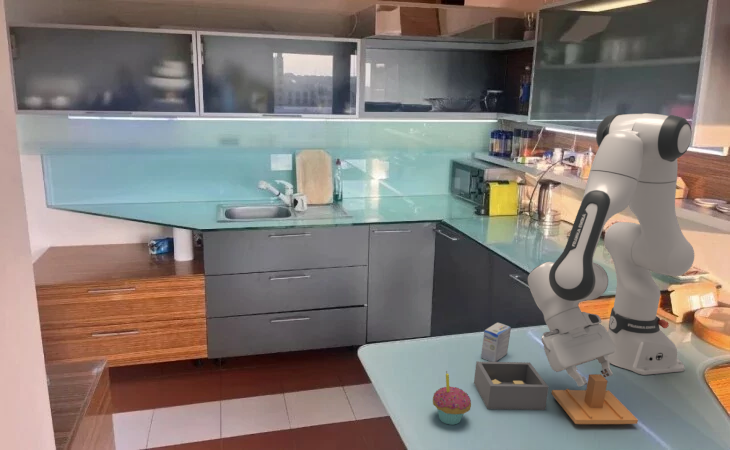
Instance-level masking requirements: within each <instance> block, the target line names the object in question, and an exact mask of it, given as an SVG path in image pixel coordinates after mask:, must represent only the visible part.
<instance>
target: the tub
mask: <svg viewBox="0 0 730 450" xmlns="http://www.w3.org/2000/svg"><path fill="white" fill-rule="evenodd" d="M473 379H474V380H473V384H474V386H475V388H476V390H477V392H478V393H479V396H480V398H481V399H482V402H483V403H484V405H485V406H486V409H487V410H524V411H525V410H529V411H530V410H531V411H532V410H534V411H535V410H536V411H539V410H540V411H541V410H543V411H545V410H546V406H547V401H548V395H549V394H548V393H549V385H548V384H547V383H546V382H545V380H544V378H543V377H542V376H541V374H539V372H538V371H537V369H536V368H535V367H534V365H533V364H532V363H531V362H528V361H527V362H525V361H524V362H522V361H521V362H518V361H514V362H513V361H512V362H511V361H497V362H490V361H476V363H475V369H474V378H473Z"/></svg>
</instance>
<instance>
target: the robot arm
mask: <svg viewBox="0 0 730 450" xmlns="http://www.w3.org/2000/svg"><path fill="white" fill-rule="evenodd" d="M692 134H693V133H692V127H691V124H690V122H688V120H687V119H686V118H684V117H681V116H678V115H672V114H671V115H665V114H661V113H660V114H657V113H650V112H649V113H647V112H646V113H645V112H644V113H627V114H622V113H614V114H610V115H607V116H606V117H604V118H603V119H602V120H601V121H600V122H599V125H598V127H597V128H596V133H595V135H596V136H595V138H596V144H597V146H598V148H597V150H596V152H595V153H596V154H595V155H594V159H593V161H592V164H591V167H590V170H589V174H588V178H587V180H586V185H585V189H584V194H583V196H582V200H581V203H580V206H579V209H578V211H577V214H576V216H575V219H574V221H573V224H572V228H571V230H570V233H569V236H568V239H567V242H566V244H565V247H564V249H563V252H562V253H561V254H560V256H559V257H558V258H557V259H556V260H555V261H554V262H553V261H546V262H542V263H541V264H538V265H537V266H536V267H534V268H533V269H532V270H531V271H530V272H529V274H528V276H527V284H528V287H529V290H530V292H531V296H532V298H533V300H534V302H535V304H536V306H537V307H538V308H539V310H540V311H541V312H542V315H543V319H544V322H545V324H546V326H547V328H548V331H545V332H543V333H542V336H541V343H542V345H543V349H544V353H545V356H546V359H547V361H548V364H549V366H550V368H551V369H552V370H553V371H554V372H556V373H558V372H562V371H566V373H567V375H568V376H569V377H571V379H573V380H574V381H575V383H576V385H577V386H578V387H583V386H585V385H587V383H588V380H587V378H586V377H585V375H581V374H580V373H579V372H578V367H577V366H581V365H583V364H586V363H590V362H592V361H596V360H597V361H598V363H599V364H601V369H602V370H600V373H601V375H602V376H603V377H604V378H608V377H610V376H613V371H612V369H611V366H610V364H612V365H614V366H616V367H619V368H621V369H625V370H629V371H631V372H634V373H636V374H639V375H642V376H646V375H647V376H648V375H657V374H666V373H668V374H669V373H677V372H678V373H679V372H684V371H685V365H684V363H683V361H681V360H680V359H679V358H678V349H677V348H678V347H677V346H676V344H675V343H674V342H673V341H672V339H670V338H669V337H668V336H667V335H666V334H665V332H664V331H662V330H661V328H660V327H662V328H663V329H668V327H669V325H670V323H669V321H666V320H665V319H661V318H660V317H659V316H657V314H658V313H657V312H658V308H659V303H660V298H661V290H660V288H659V286H658V284H657V282H656V281H655V280H654V278H653V276H652V272H654V273H656V274H659V275H663V276H671V277H680V276H682V275H684V274H685V273H687V272H688V271H689V270H690V269H691V267H692V266H693V264H694V261H695V250H694V247H693V245H692V244H691V243H690V242H689V241H688V240H687V238H686V237H685V236H684V234H683V231H682V229H681V227H680V224H679V221H678V217H677V213H676V193H677V192H676V191H677V182H678V167H679V165H678V159H680V158H681V157H682V156H683V155H684V154H686V153H687V151H688V149H689V147H690V145H691V141H692ZM628 207H629V209H630V212H632V213H633V214H634V216H635V217H636V219H637V221H638V223H636V222H629V221H618V222H615V223H613V224H611V225H610V227H609V228H608V229H607V230H606V232H605V234H604V238H603V239H604V240H603V241H604V242H603V244H604V247H605V249H606V251H607V252H608V254H609V255H610V257H611V259H612V262H613V266H614V270H615V276H616V288H615V289H616V290H615V295H614V303H613V307H612V308H611V310H610V315H609V321H608V330H607V329H606V327H605V326H604V325H603V324H601V323H602V319H601V317H600V316H599V315H598V314H595V313H589V312H585V311H582V310H581V308H580V307H579V304H580V303H583V302H586V301H592V300H596V299H597V298H599V297H600V296H602V295H603V294H604V293H605V292H606V291H607V288H608V286H609V276H608V273H607V271H606V270H605V268H604V267H603V266H601V265H600V264H598V263H597V262H594V255H595V253H596V250H597V248H598V247H597V246H598V244H599V241H600V238H601V235H602V232H603V229H604V227H605V225H606V223H607V222H608V221H609V220H610V219H611V218H613V217H614V216H615V215H617V214H619V213H621V212H623V211H624V210H626V209H627V208H628Z"/></svg>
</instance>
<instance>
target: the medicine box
mask: <svg viewBox="0 0 730 450" xmlns="http://www.w3.org/2000/svg"><path fill="white" fill-rule="evenodd" d="M511 329H512V328H511V326H509V325H506V324H504V323H500V322H496V323H494V324H492V325H491V326H489V327H487V328H486V329H484V331H483V340H482V346H481V354H480V358H481V359H482V358H483V360H484V361H487V360H488V361H487V362H499V361H500V360H501V359H502V358H503V357H505V356H506V355H508V350H509V343H510V338H511V337H510V336H511Z"/></svg>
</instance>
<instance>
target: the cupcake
mask: <svg viewBox="0 0 730 450" xmlns="http://www.w3.org/2000/svg"><path fill="white" fill-rule="evenodd" d="M445 382H446V383H445V384H446V385H445V386H444V387H440V388H439V389H437V390H436V391H435V392H434V393H433V396H432V405H433V406H435V408H436V410H437V413H438V414H437V415H438V418H439V420H440V421H441V422H442V423H444V424H447V425H449V426H451V425H452V426H453V425H457V424H459V423H460V422H461V420H462V418H463V416H464V414H466V413H467V412H469V411H471V407H472V401H471V397H470V396H469V394H468V393H467V392H466V391H464V390H463V389H462V388H459V387H454V386H450V375H449V373H448V371H447V370H446V371H445Z"/></svg>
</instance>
